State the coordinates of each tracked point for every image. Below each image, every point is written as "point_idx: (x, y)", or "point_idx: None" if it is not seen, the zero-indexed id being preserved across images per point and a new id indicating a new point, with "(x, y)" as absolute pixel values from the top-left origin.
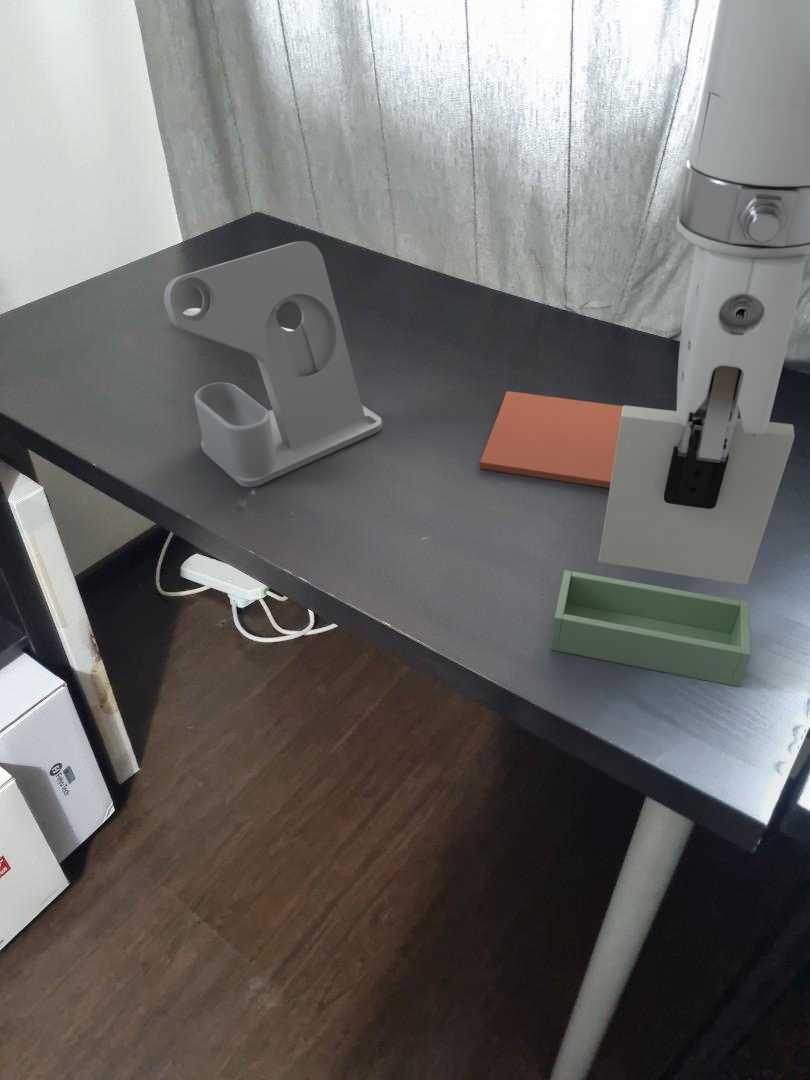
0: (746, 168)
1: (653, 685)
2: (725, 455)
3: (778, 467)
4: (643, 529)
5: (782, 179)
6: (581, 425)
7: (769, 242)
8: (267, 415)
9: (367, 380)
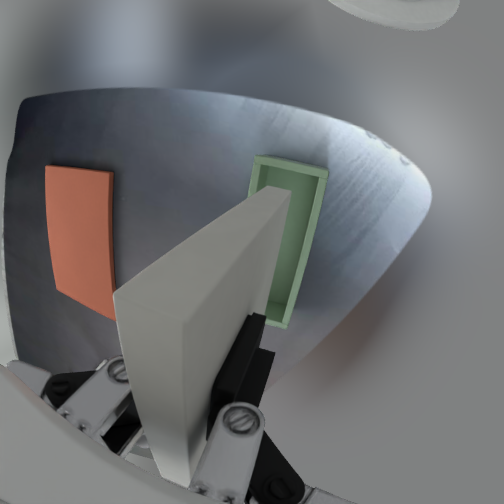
0: None
1: (328, 239)
2: (261, 431)
3: (233, 276)
4: None
5: None
6: (66, 248)
7: None
8: (143, 433)
9: (78, 355)
